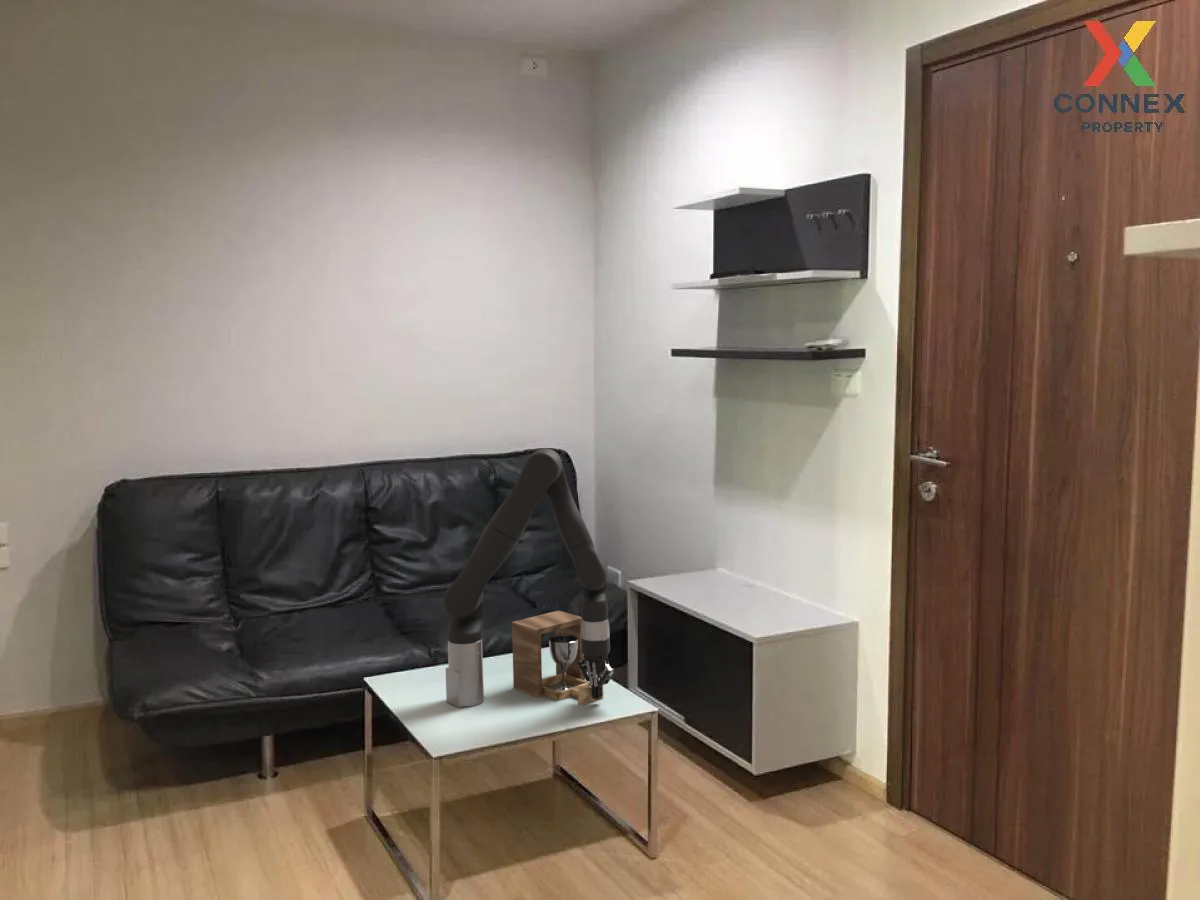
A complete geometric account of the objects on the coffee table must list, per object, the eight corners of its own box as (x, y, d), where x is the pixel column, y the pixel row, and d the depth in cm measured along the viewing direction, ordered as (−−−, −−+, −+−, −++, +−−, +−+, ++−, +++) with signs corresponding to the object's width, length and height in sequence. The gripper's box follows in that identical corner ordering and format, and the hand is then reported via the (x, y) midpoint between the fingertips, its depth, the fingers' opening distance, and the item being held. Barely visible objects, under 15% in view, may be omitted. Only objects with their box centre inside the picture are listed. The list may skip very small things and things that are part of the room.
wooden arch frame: (538, 697, 279) (536, 629, 277) (513, 687, 287) (511, 621, 285) (584, 682, 291) (583, 617, 288) (560, 673, 299) (558, 610, 297)
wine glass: (574, 696, 279) (574, 643, 278) (546, 695, 281) (545, 642, 279) (581, 687, 287) (580, 635, 285) (554, 685, 289) (553, 633, 287)
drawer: (575, 707, 271) (575, 692, 271) (530, 689, 286) (530, 675, 285) (608, 696, 279) (608, 682, 279) (563, 679, 294) (563, 666, 293)
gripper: (568, 633, 274) (570, 696, 276) (601, 643, 264) (603, 708, 266) (589, 627, 279) (591, 689, 281) (622, 637, 269) (624, 701, 271)
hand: (597, 698), depth 274 cm, fingers closed
